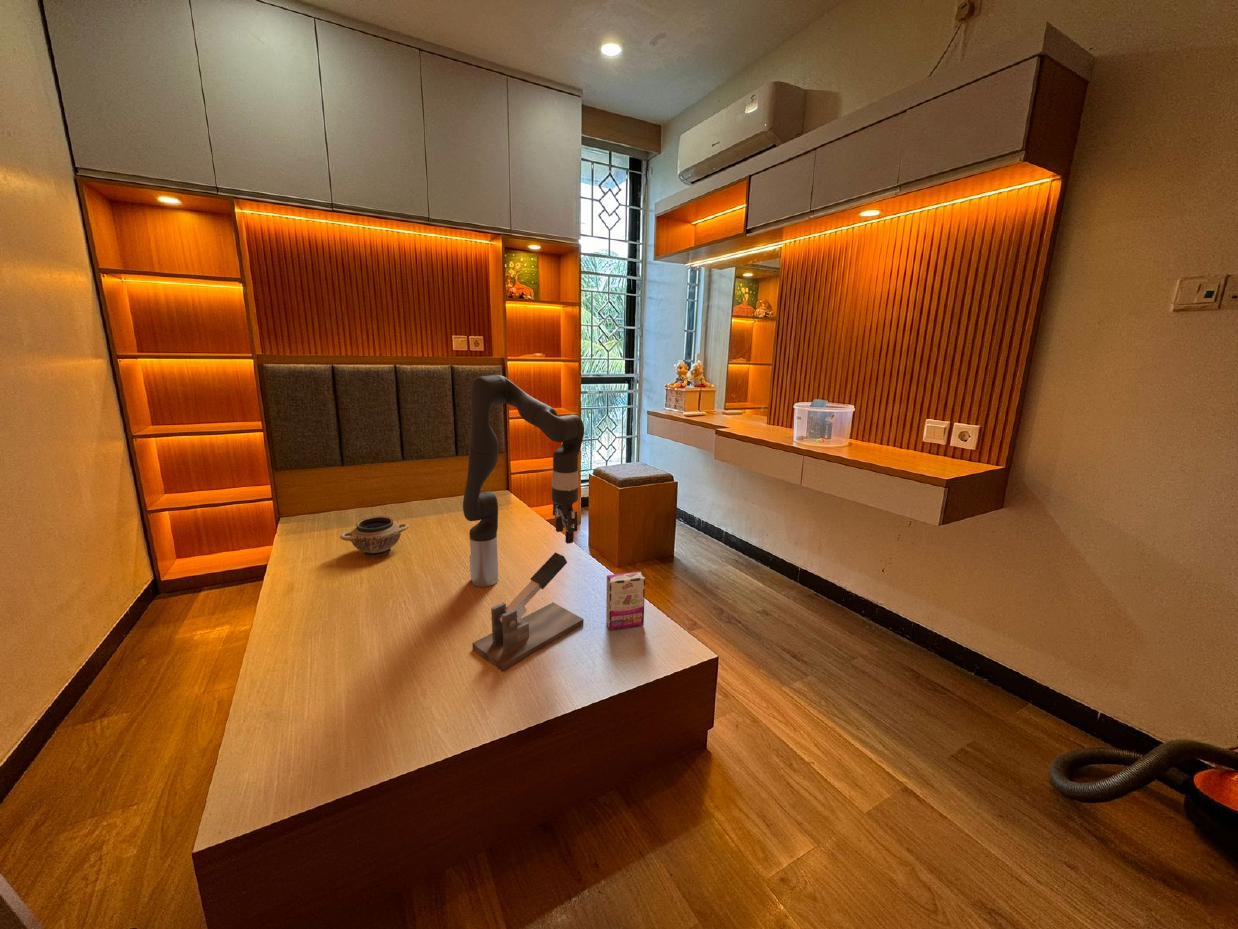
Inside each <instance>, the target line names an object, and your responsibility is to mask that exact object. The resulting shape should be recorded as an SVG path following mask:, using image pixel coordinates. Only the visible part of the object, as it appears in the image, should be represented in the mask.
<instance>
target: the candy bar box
mask: <svg viewBox="0 0 1238 929" xmlns="http://www.w3.org/2000/svg"><path fill="white" fill-rule="evenodd" d="M645 594H646V577H645V576H644V575H643V572H642V571H636V572H635V571H634V572H633V571H632V572H624V573H616V574H607V575H606V603H605V604H606V606H605V607H606V610H605V611H606V612H605V613H606V614H605V615H606V618H605V620H606V625H607V626H608V629H609V631H617V630H624V629H629V628H637V627H643V626H644V624H645V623H644V622H645V596H646V595H645Z"/></svg>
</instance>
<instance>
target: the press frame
mask: <svg viewBox="0 0 1238 929" xmlns="http://www.w3.org/2000/svg"><path fill="white" fill-rule="evenodd" d="M506 607H507V603H505V602H504V601H503V602H501V603H498V604H496V605H494V606H492V607H491V608H490V613H491V633H489V634H487V635H485V636H484V637H482V638H480V639H478V640H475V641H474V642H472V650H473V651H475V652H476V653H477V654H478V655H480V656H481V657H483V659H484V660H486V661H488V663H490V664H491V665H492V666H494V667H495V668H497V669H498V670H499V671H500V672H502V673H503V672H505V671H507V670H508V669H511V668H512V667H514V666H515V665H517V664H519V663H521V662H523V661H524V660H526V659H527V658H529V657H531V656H533V655H535V654H536V653H537V652H539V651H541V650H543V649H545V648H546V647H548V646H549V645H551V644H553V643H555V642H557V641H558V640H560V639H561V638H563V637H565V636H567V635H568V634H570V633H572V632H574V631H575V630H577V629H579V628H580V627H582V626H584V618H583V617H581V616H579V615H577V614H576V613H574V612H572V611H570V610H568V609H566V608H564V607H563V606H561V605H559V604H557V603H555V602H553V601H552V602H551V603H549V604H547V605H545V606H543V607H541V608H539V609H537V610H535V611H533V612H531V613H529V614H527V615H525V616H522V617H521V618H520V619H519V618H517V610H515V609H513V610H511V611H509V612H507V613H505V612H504V611H503V610H504V609H505V608H506ZM500 613H505V614H503V615H502V623H501V622H500V621H498V619H497V618H498V615H499V614H500Z"/></svg>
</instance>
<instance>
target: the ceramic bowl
mask: <svg viewBox="0 0 1238 929" xmlns="http://www.w3.org/2000/svg"><path fill="white" fill-rule="evenodd" d="M409 528H410V525H409V524H408V523H403V522H401V523H395V522H394V520H393V518H391V517H389V516H386V515H385V516H384V515H376V516H370V517H365V518H363V519H361V520H358V522H357V523H356V527H355V528H353V529H352V530H351V531H344V532H342V533H341V534H340V535H339V538H340V539H341V540H342V541H346V542H351V543H352V545H353V547H355V549H357V550H359V551H361V552H363V553H364V555H365V556H368V557H379V556H380V557H381V556H384V555H386V554H388V553H389V552H391V548H392V547H394V546H395V545H396V544H398V542H399V540H400V538H401V533H402V532H404V531H406V530H408V529H409Z"/></svg>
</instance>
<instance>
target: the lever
mask: <svg viewBox="0 0 1238 929" xmlns="http://www.w3.org/2000/svg"><path fill="white" fill-rule="evenodd" d="M567 563H568V561H567V559H566V557H565V556H564V555H562V554H560V553H557V552H554V553H553V554H552V555H551V556H550V557H549V558H548V559H547V560H546V562H544V564H542V566H540V568H539V569H538V570H537V571H536V572H535V573H534V574H533V575H532V576H531V578H530V580H531V581H530V582H529V583H528V584H527V585H525V587H524V588H523V589H522V590H521V591H520V592H519V593H518V594H517V595H516V597H514V599H512V600H511V602H510V603H509V604H508V605H506V608H505V609H504V610H503V611H504V612H505V613H507V612H509V611H511V610H513V609H515V610H517V618H519V619H520V618H523V617H524V615H525V614H526V613H527V611H528V610H527V608H526V607H525V606H526V605H527V604H528V603H530V601H531V600H532V599H533V598H534V596H535V595H537V593H538V592H540V591H541V590H544V589H545V588H546V587H547V586H548V584H549V583H550V582H552V580H553V579H554V578H555V576H556V575H558V574H559V573H560V571H561V570H562V569H563V568H564V567H565V566H566V565H567ZM505 613H500V614H499V615H498V618H497V619H498V621H500V622H501V623H502V615H503V614H505Z"/></svg>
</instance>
